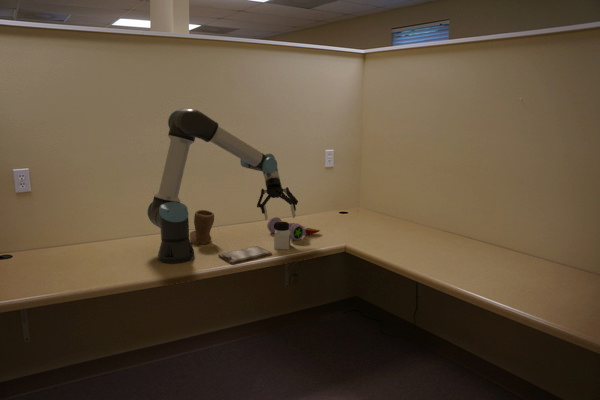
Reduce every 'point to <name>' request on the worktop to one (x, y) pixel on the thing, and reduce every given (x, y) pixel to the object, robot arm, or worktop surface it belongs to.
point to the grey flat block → (244, 254)
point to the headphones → (291, 229)
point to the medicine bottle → (282, 236)
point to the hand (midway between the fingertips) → (280, 217)
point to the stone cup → (202, 226)
